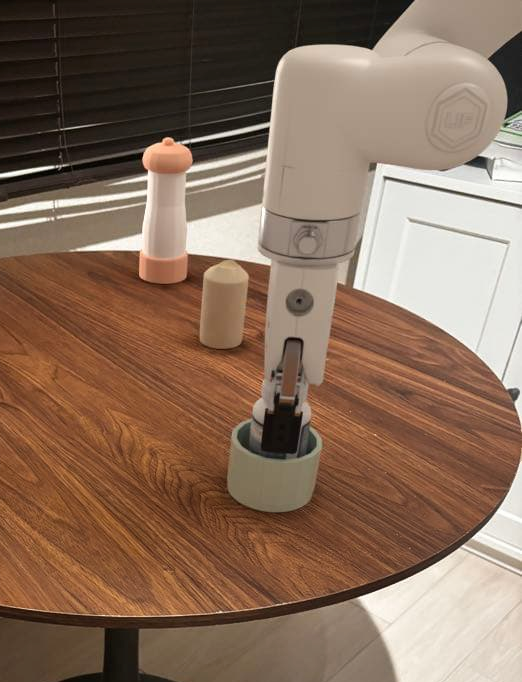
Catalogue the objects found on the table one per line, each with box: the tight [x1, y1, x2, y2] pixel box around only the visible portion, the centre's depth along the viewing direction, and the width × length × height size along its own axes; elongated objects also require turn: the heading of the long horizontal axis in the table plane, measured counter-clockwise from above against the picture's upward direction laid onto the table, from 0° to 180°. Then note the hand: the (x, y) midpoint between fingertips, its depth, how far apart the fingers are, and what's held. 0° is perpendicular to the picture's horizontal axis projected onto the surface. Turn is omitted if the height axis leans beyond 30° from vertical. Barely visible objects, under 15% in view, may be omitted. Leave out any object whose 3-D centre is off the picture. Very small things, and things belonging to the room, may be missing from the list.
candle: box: [199, 259, 250, 350], centre depth 102 cm, size 6×6×10 cm
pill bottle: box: [248, 373, 312, 460], centre depth 74 cm, size 5×5×9 cm
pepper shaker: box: [138, 136, 194, 285], centre depth 118 cm, size 7×7×19 cm
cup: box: [226, 418, 323, 513], centre depth 76 cm, size 8×8×6 cm
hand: (280, 432), depth 74 cm, fingers closed on pill bottle, 5 cm apart
